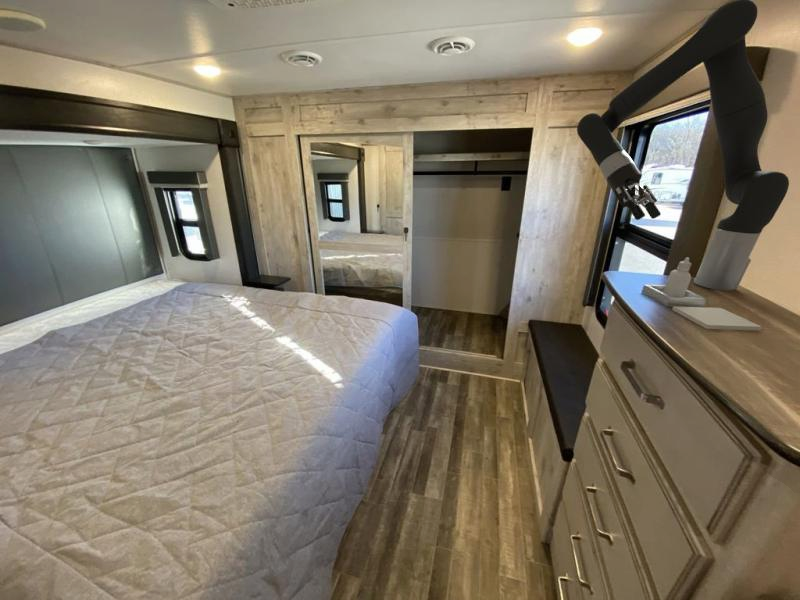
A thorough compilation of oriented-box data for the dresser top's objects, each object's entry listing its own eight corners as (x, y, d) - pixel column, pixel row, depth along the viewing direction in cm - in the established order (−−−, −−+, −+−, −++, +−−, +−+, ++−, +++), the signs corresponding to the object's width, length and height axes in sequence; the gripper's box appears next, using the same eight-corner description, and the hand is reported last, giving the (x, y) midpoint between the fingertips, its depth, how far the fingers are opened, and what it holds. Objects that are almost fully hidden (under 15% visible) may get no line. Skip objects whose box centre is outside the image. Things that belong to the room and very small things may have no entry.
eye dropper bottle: (681, 299, 87) (698, 257, 82) (680, 305, 83) (698, 261, 79) (661, 294, 90) (677, 254, 85) (660, 300, 86) (676, 258, 81)
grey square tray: (674, 293, 91) (677, 285, 90) (703, 307, 82) (707, 298, 81) (641, 292, 91) (644, 284, 90) (666, 306, 82) (669, 297, 81)
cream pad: (719, 311, 80) (721, 308, 80) (759, 330, 71) (761, 326, 71) (672, 309, 80) (673, 306, 80) (706, 328, 71) (707, 324, 71)
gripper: (618, 160, 86) (650, 209, 81) (645, 162, 92) (676, 208, 88) (593, 180, 92) (622, 226, 88) (620, 180, 99) (648, 224, 94)
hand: (649, 217), depth 88 cm, fingers open, 8 cm apart
